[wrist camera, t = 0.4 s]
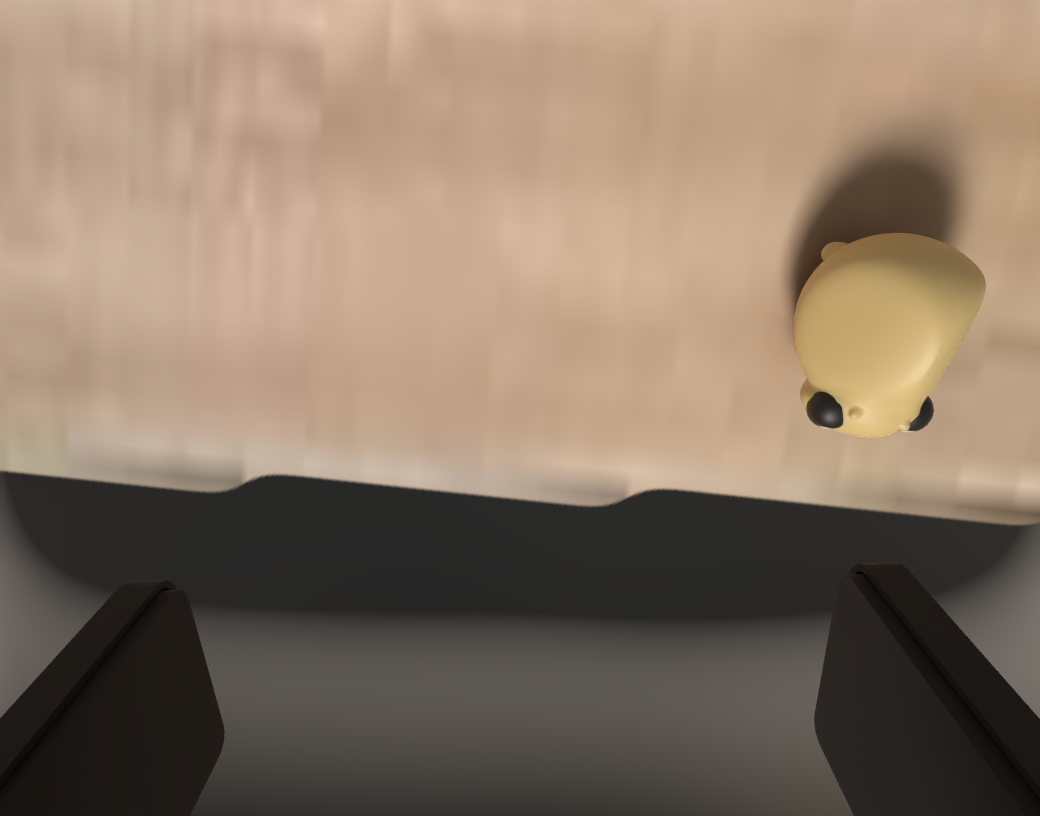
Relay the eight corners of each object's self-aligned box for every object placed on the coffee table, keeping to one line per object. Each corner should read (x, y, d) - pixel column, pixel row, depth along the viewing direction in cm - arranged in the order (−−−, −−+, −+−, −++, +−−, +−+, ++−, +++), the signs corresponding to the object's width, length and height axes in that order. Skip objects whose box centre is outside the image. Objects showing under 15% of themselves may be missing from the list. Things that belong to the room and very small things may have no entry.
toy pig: (746, 388, 46) (805, 455, 37) (794, 213, 42) (877, 235, 32) (882, 405, 47) (976, 476, 37) (944, 233, 42) (1071, 262, 33)
